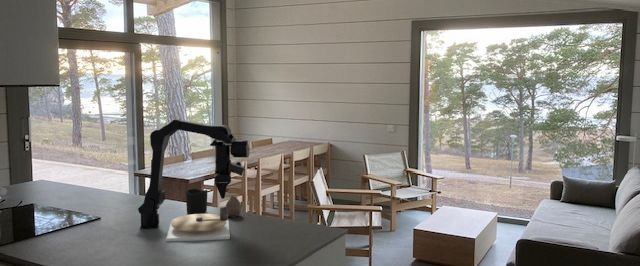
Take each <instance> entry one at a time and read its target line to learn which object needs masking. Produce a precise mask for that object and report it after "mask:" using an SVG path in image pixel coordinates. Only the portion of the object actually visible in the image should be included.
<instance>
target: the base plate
mask: <svg viewBox="0 0 640 266" xmlns="http://www.w3.org/2000/svg"><path fill="white" fill-rule="evenodd" d="M230 238H231V237H230V223H229V219H228V220H226V225H224V226H223V227H220V228H217V229H213V230H207V231H183V230H178V229H175V228H173V227H172V221H171V222H170V225H169V228H168V232H167V235H166V238H165V239H166V243H167V242H189V241H190V242H191V241H210V240H211V241H214V240H230Z"/></svg>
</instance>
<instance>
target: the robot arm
mask: <svg viewBox="0 0 640 266" xmlns="http://www.w3.org/2000/svg"><path fill="white" fill-rule="evenodd" d="M178 131H183V132H188V133H194V134H199V135H204V136H207V137H208V138H210V139H213V140H212V142H211V143H210V144H209V146H210V147H214V148H215V151H214V153H215V154H214V155H215V156H214V157H215V158H214V159H215V161H214V162H215V169H214V184H215V187H216V189H217V191H218V193H219V196H220V197H221V200H222V199H223V200H224V199H225V197H226V193H227V189H228V187H227V186H229V185H230V184H231V183H232V175H231V174H232V173H233V174H237V175H238V176H241V177H242V176H243V174H244V172H245V166H243V165H242V162H240V161H236V163H235V162H234V163H233V162H232V160H231V156H232V157H233V158H239V159H240V158H242V159H243V158H244V159H245V158H246V159H248V158H249V156H250V146H249V141H248V140H247V139H246V140H237V139H236V138H235V136H234V135H233V134H232V129H231V128H230V127H229V125H226V124H204V123H199V122H193V121H188V120H184V119H183V120H182V119H180V118H175V119H173V120H171V122H168V123H167V124H166V125H164V126H162V127H161V128H157V129H155V130H153V131H152V132H151V133H150V135H149V141H150V148H151V150H152V154H151V156H152V158H151V165H150V166H151V167H150V168H151V169H150V178H149V186H148V188H147V190H146V192H145V197H144V199H143V200H144V201H143V203H142V204H141V205H140V206H139V207H137V210H138V213H139V214H140V226H139V228H140V229H157V228H158V226H160V214H159V212H158V210H159V209H160V206H161V205H163V203H164V201H166V193H167V190H166V189H163V186H162V184H163V183H162V182H163V174H164V173H163V172H164V163H165V152H166V150H167V148H168V147H169V146H168V145H169V142H170V139H171V137H172V136H173V135H174V134H175V133H177V132H178Z"/></svg>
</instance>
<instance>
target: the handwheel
mask: <svg viewBox="0 0 640 266" xmlns="http://www.w3.org/2000/svg"><path fill="white" fill-rule="evenodd" d="M228 218H229V216H228V207H226V205H225V206H220V207H219V214H215V213H214V214H213V213H204V214H186V215H181V216H178V217H175V218H174V219H172V220H171V222H172V227H173V228H175V229H178V230H183V231H207V230H213V229H217V228H220V227H223V226H224V225H226V220H228V221H229V219H228Z"/></svg>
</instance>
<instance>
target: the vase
mask: <svg viewBox="0 0 640 266" xmlns="http://www.w3.org/2000/svg"><path fill="white" fill-rule="evenodd" d="M225 206H226V207H228V218H235V217H236V218H237V217H238V216H239V215H240V214H241V213H242V204H241V201H240V200H239V199H238V197H237V196H236V195H231V196H230V198H229V199H228V201H227V202H226V204H225Z"/></svg>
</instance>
